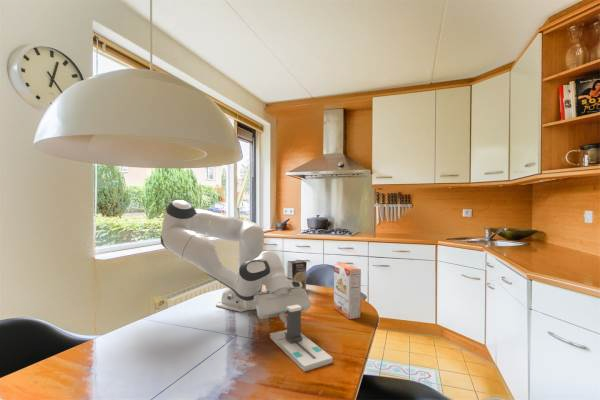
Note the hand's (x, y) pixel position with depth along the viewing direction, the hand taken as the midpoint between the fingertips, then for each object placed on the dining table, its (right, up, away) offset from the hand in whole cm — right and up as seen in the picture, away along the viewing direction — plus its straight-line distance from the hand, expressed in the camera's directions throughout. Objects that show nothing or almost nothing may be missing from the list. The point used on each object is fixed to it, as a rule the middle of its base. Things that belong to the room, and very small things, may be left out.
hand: (290, 325), depth 100 cm
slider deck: (+3, -6, -5) cm, 8 cm away
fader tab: (+1, -4, -1) cm, 4 cm away
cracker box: (+24, -7, +28) cm, 37 cm away
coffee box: (+1, -7, +62) cm, 62 cm away
